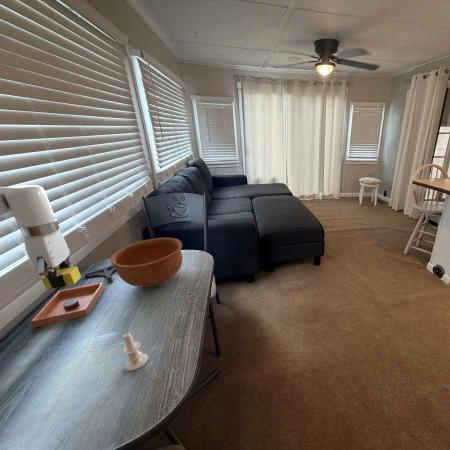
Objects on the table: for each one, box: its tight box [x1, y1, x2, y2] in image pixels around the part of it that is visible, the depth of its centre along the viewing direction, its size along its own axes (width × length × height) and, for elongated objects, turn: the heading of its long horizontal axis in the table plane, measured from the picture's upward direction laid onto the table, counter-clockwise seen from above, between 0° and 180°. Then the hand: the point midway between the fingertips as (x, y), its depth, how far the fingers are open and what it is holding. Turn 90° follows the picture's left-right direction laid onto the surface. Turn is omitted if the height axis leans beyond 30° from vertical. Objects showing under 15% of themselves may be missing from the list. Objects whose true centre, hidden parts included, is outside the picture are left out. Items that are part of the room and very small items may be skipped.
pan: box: [30, 282, 106, 328], centre depth 87 cm, size 14×17×3 cm
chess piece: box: [122, 332, 149, 372], centre depth 63 cm, size 5×5×10 cm
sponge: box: [40, 266, 82, 290], centre depth 75 cm, size 7×4×4 cm, turn 110°
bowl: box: [109, 237, 183, 288], centre depth 98 cm, size 25×25×15 cm
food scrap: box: [63, 299, 80, 311], centre depth 86 cm, size 4×4×2 cm
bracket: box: [83, 264, 117, 284], centre depth 105 cm, size 14×15×3 cm
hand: (63, 281), depth 75 cm, fingers closed on sponge, 4 cm apart
